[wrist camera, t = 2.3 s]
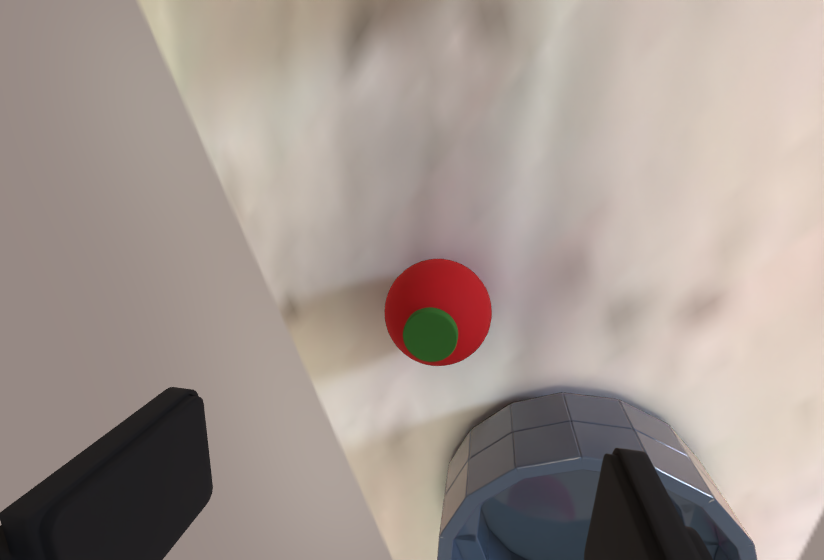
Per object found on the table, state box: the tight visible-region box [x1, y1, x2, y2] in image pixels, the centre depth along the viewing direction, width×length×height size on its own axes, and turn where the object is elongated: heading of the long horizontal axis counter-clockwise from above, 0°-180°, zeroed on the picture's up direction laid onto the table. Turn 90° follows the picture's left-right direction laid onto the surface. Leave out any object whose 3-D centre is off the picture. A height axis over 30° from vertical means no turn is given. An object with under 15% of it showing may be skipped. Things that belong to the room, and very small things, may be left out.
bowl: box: [437, 392, 757, 560], centre depth 20 cm, size 12×12×5 cm
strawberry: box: [385, 259, 492, 366], centre depth 18 cm, size 4×4×5 cm
